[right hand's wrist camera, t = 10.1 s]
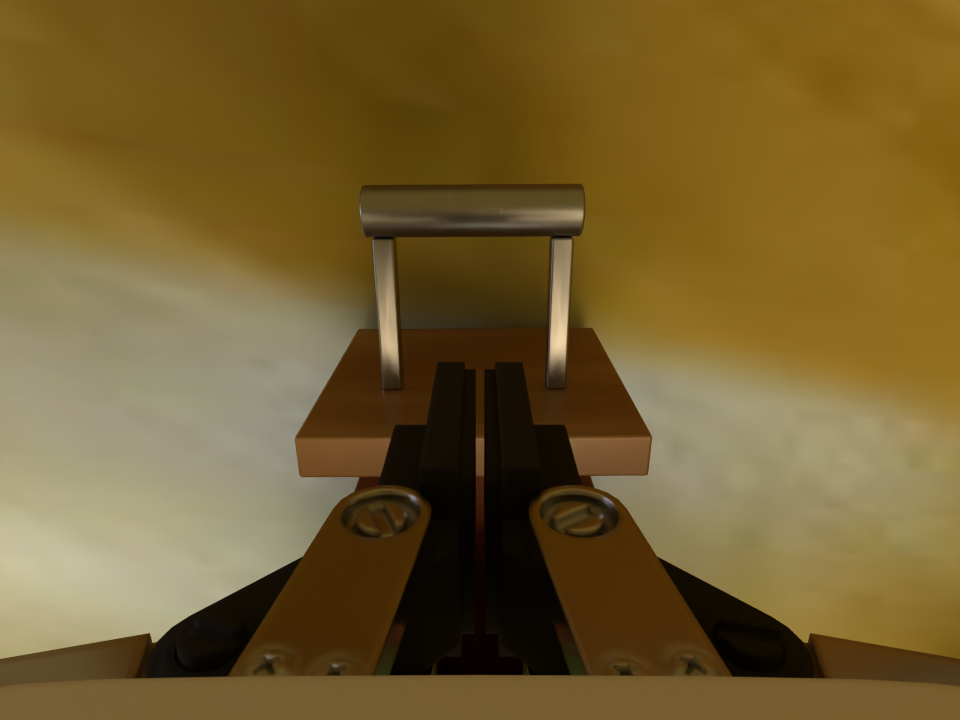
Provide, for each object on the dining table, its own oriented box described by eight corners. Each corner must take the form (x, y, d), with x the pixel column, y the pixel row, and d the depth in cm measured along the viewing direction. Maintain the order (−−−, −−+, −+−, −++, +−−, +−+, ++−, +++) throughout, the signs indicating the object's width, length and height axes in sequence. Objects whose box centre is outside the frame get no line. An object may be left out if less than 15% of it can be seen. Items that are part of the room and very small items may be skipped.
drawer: (344, 170, 21) (261, 199, 13) (603, 168, 21) (679, 197, 13) (386, 680, 30) (352, 885, 22) (570, 679, 30) (603, 884, 22)
